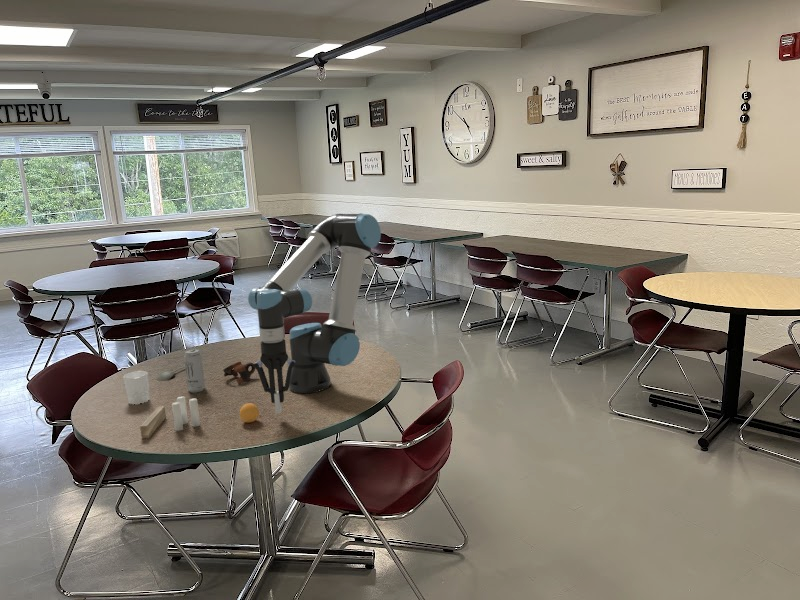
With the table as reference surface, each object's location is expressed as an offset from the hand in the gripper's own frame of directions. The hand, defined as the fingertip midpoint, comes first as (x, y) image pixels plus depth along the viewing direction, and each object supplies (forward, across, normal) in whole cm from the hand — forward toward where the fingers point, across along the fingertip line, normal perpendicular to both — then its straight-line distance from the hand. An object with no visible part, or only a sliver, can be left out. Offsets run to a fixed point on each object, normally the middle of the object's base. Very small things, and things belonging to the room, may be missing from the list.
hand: (278, 411), depth 191 cm
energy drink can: (+3, -35, +33) cm, 49 cm away
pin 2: (+3, -31, -2) cm, 31 cm away
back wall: (+3, -39, 0) cm, 39 cm away
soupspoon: (+4, -49, +57) cm, 75 cm away
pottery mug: (+3, -21, +42) cm, 47 cm away
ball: (0, -9, 0) cm, 9 cm away
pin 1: (+3, -31, +3) cm, 31 cm away
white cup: (+3, -53, +25) cm, 59 cm away
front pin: (+3, -26, 0) cm, 26 cm away
